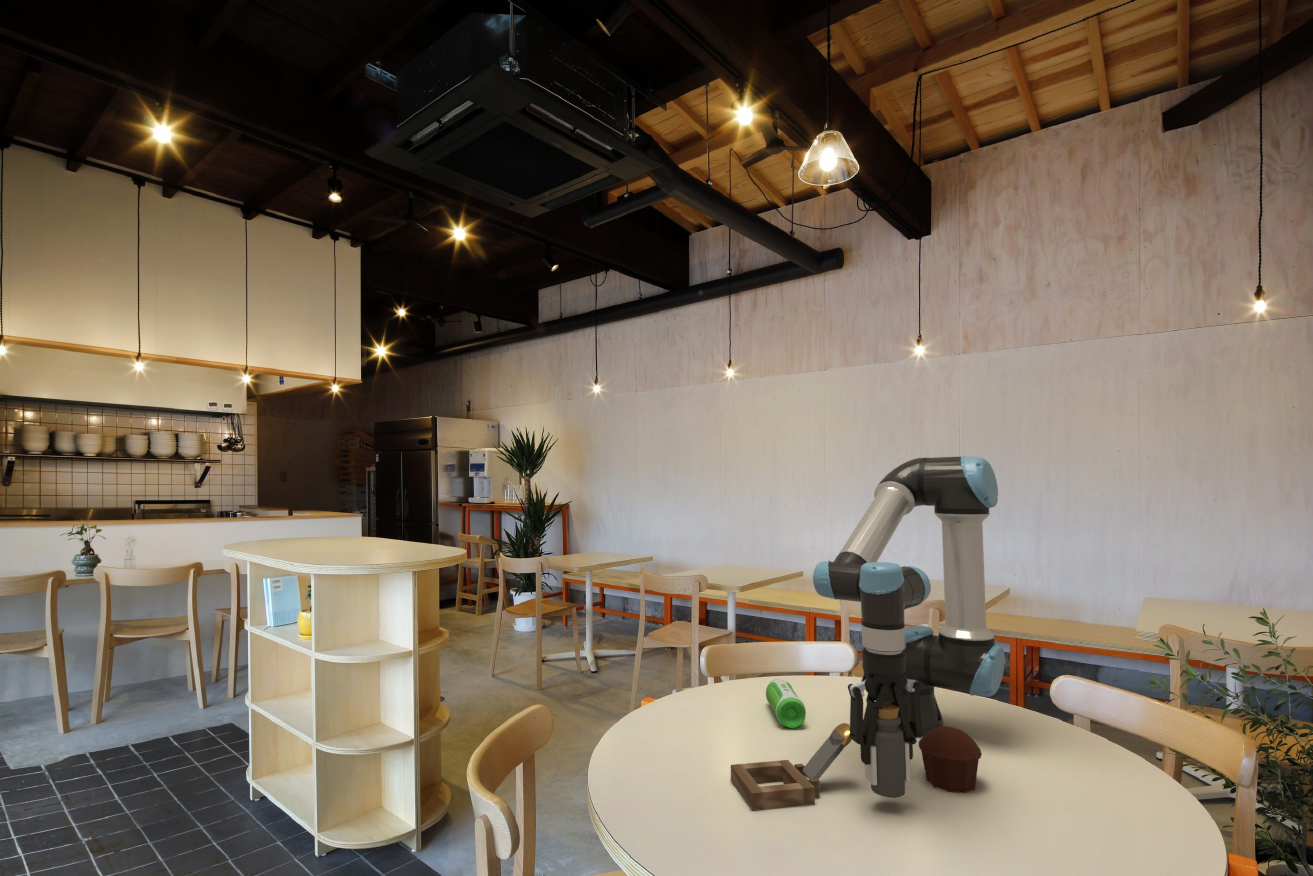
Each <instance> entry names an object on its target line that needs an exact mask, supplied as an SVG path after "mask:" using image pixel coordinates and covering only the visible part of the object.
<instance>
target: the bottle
mask: <svg viewBox="0 0 1313 876" xmlns="http://www.w3.org/2000/svg"><path fill="white" fill-rule="evenodd" d="M898 711H899V707H897V706H896V705H894V704H892V703H891V702H886V703H883V706H882V709H879V716H878V720H877V724H876V729H875V733H874V737H873V741H872V745H874V746H875V747H876V764H877V785H872V784H871V783H870V787H871V791H872V792H873V793H875V794H876V795H878V796H880V797H884V798H889V799H897V798H902V797H904V796H905V793H906V781H905V766H904V740H903V731H902V730H901V729H900V728H899V727H897V725H899V724H900V723H901V718H900V716H899V715H898Z"/></svg>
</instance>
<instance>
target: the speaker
mask: <svg viewBox="0 0 1313 876" xmlns="http://www.w3.org/2000/svg"><path fill="white" fill-rule="evenodd" d="M765 689H766V690H765V698H766V701H767V702H768V704H769V705H770V706H771V709H772V710H773V712H774V715H775V717H776V719H777V721H778V722H779V723H780V724H781V725H782V726H784V727H785V728H789V729H795V728H798V727H801V725H803V723H804V722H805V720H806V715H807V712H806V711H807V710H806V706H805V704H804V702H803V701H802V699H800V697H798V695H797V693H796V691H795V690H794V689H793V687H792V685H791V684H790V683H789V682H788V681H786V680H784V679H781V678H776V679H773V680H771V681H769V683H768V684H767V686H766V688H765Z"/></svg>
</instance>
